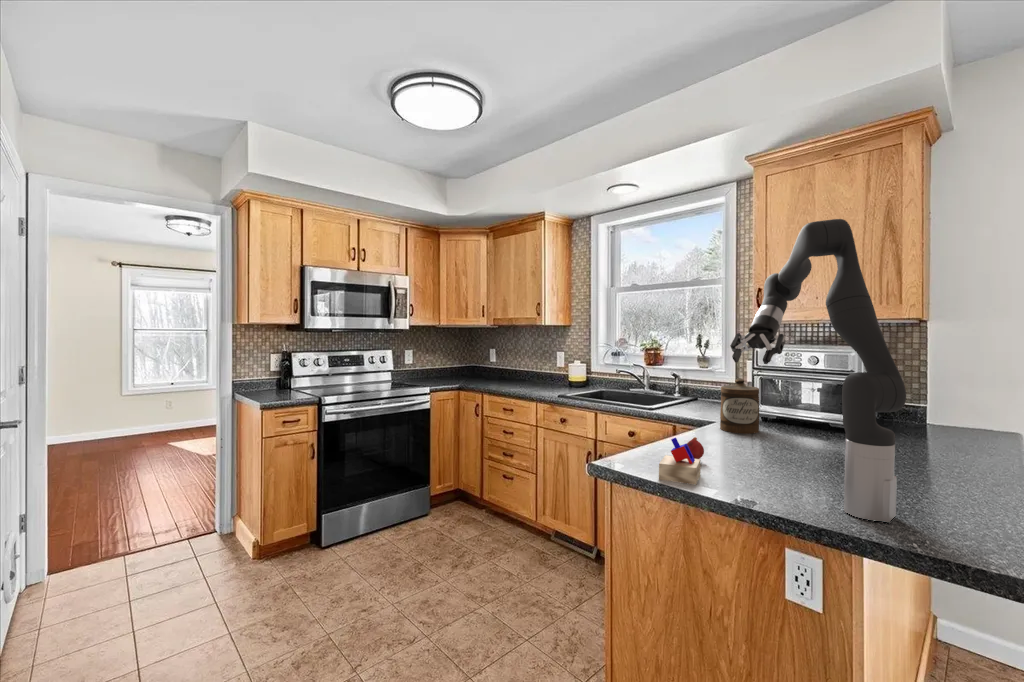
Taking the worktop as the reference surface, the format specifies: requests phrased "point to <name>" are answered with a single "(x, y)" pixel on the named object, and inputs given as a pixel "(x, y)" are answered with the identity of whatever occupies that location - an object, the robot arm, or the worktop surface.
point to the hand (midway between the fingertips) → (749, 361)
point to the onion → (696, 448)
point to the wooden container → (739, 408)
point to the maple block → (679, 470)
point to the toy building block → (681, 452)
